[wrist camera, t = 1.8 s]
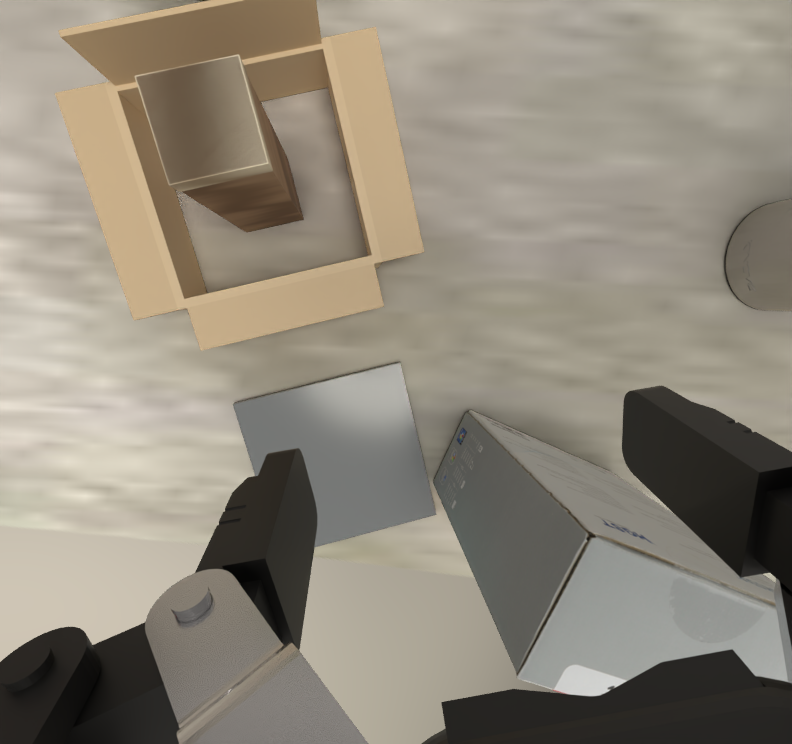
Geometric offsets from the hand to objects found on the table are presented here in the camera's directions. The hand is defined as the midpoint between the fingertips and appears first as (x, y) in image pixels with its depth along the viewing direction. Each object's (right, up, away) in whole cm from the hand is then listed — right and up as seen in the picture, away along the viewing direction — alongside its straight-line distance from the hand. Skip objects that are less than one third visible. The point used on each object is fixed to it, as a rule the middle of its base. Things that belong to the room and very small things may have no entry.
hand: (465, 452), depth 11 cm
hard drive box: (+10, -8, +28) cm, 31 cm away
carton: (-11, +14, +23) cm, 29 cm away
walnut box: (-12, +16, +22) cm, 30 cm away
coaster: (-7, -6, +26) cm, 28 cm away
